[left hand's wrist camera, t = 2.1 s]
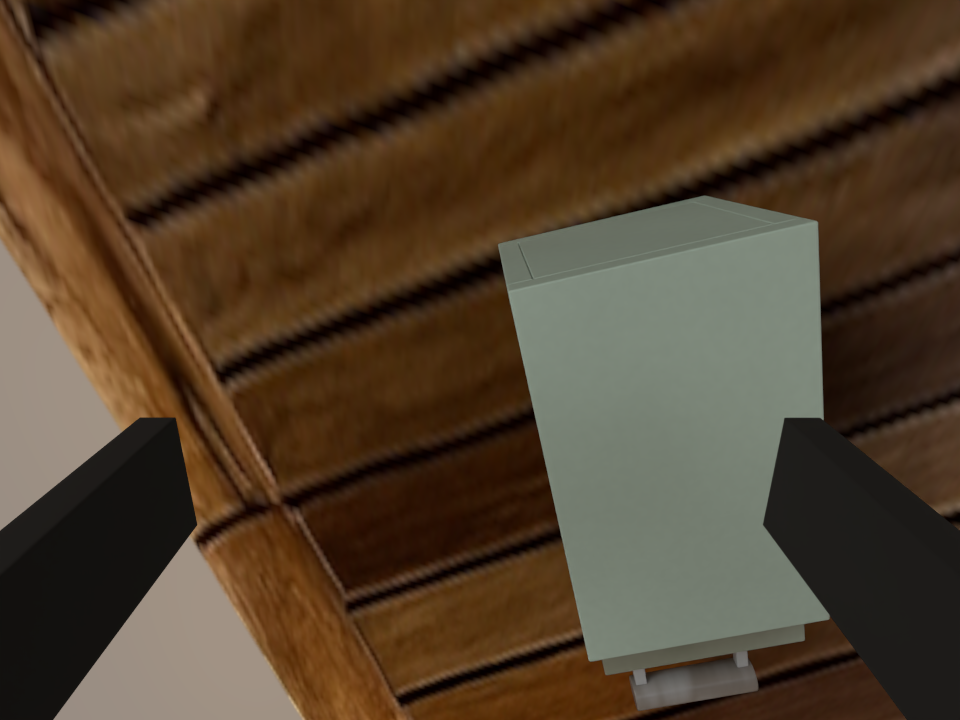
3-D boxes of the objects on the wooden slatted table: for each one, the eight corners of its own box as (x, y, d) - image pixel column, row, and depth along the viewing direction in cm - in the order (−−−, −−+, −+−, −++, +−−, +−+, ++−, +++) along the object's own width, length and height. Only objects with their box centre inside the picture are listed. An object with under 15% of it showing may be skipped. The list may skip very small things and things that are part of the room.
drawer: (740, 612, 36) (809, 736, 28) (594, 638, 37) (624, 766, 29) (707, 268, 29) (789, 313, 21) (524, 309, 29) (540, 367, 22)
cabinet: (732, 488, 34) (830, 620, 25) (559, 522, 35) (589, 662, 25) (705, 195, 28) (819, 220, 19) (497, 243, 29) (507, 291, 20)
